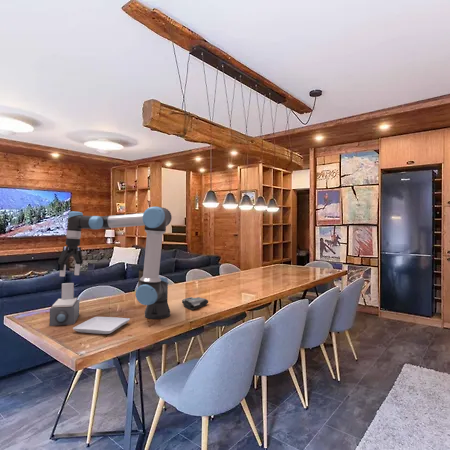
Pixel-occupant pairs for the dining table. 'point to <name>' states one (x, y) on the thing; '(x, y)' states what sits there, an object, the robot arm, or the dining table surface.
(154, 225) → the robot arm
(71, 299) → the side cover
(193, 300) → the dark grey flat lump
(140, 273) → the beer stein
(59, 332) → the dining table surface
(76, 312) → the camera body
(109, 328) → the salad plate
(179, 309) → the dining table surface
